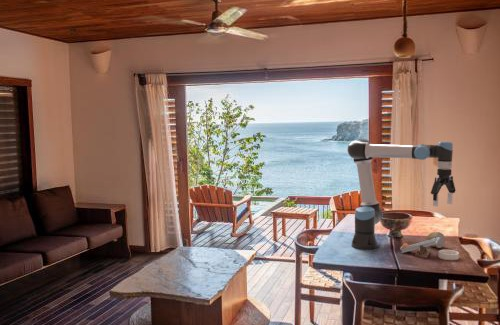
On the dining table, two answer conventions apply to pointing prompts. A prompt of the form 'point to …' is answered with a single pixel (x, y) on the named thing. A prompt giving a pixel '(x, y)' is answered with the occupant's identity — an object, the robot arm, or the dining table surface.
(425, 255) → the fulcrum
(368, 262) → the dining table surface
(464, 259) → the dining table surface
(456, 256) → the bowl
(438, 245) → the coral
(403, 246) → the ball
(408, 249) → the lever
